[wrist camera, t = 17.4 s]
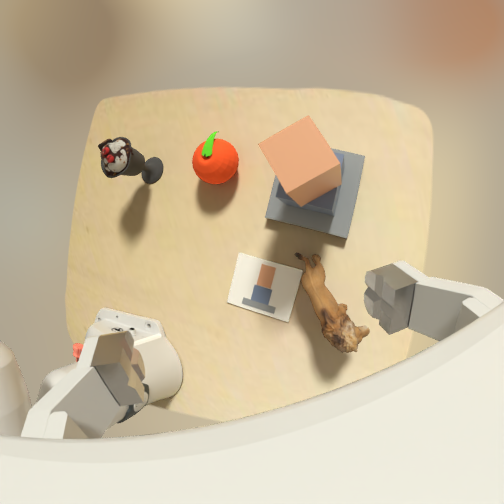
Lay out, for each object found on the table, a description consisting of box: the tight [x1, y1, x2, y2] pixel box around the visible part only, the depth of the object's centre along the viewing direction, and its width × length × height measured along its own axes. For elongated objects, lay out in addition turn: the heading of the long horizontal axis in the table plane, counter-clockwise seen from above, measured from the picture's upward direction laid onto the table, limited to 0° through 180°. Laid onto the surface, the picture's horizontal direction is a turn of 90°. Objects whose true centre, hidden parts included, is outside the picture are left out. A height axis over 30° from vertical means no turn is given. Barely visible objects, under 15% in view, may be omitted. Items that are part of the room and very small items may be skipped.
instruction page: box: [227, 252, 303, 322], centre depth 45 cm, size 10×8×1 cm
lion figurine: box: [295, 253, 370, 353], centre depth 38 cm, size 15×5×9 cm, turn 38°
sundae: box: [98, 137, 163, 184], centre depth 44 cm, size 7×7×15 cm
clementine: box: [192, 131, 239, 184], centre depth 43 cm, size 8×7×7 cm
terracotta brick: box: [258, 115, 342, 207], centre depth 30 cm, size 6×6×9 cm
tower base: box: [265, 148, 365, 239], centre depth 38 cm, size 12×12×8 cm
